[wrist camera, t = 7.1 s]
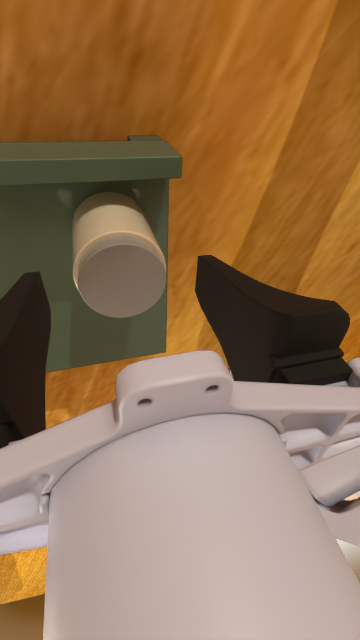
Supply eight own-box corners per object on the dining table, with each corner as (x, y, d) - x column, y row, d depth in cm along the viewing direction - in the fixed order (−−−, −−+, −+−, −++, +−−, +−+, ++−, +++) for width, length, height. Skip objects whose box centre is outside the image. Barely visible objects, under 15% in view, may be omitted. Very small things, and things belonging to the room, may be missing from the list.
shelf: (159, 333, 28) (173, 374, 25) (20, 354, 26) (12, 404, 22) (159, 135, 18) (182, 156, 14) (-75, 136, 15) (-119, 162, 12)
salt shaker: (148, 258, 20) (169, 314, 16) (79, 264, 19) (82, 326, 15) (146, 189, 17) (171, 235, 13) (64, 192, 16) (63, 244, 12)
